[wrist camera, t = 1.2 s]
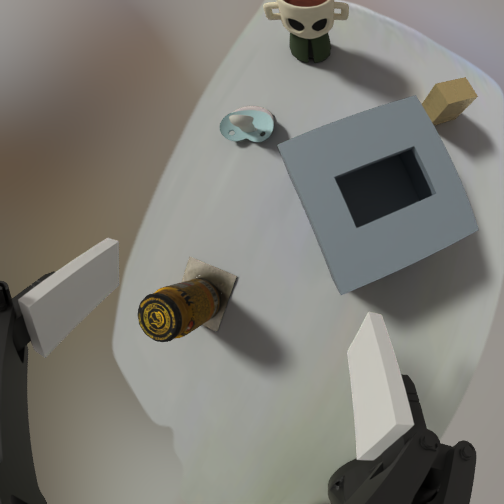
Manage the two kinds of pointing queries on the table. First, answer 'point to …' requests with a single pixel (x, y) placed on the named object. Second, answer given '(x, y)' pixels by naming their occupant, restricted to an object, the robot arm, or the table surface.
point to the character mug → (308, 25)
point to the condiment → (187, 303)
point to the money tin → (378, 191)
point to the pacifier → (248, 124)
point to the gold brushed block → (448, 100)
